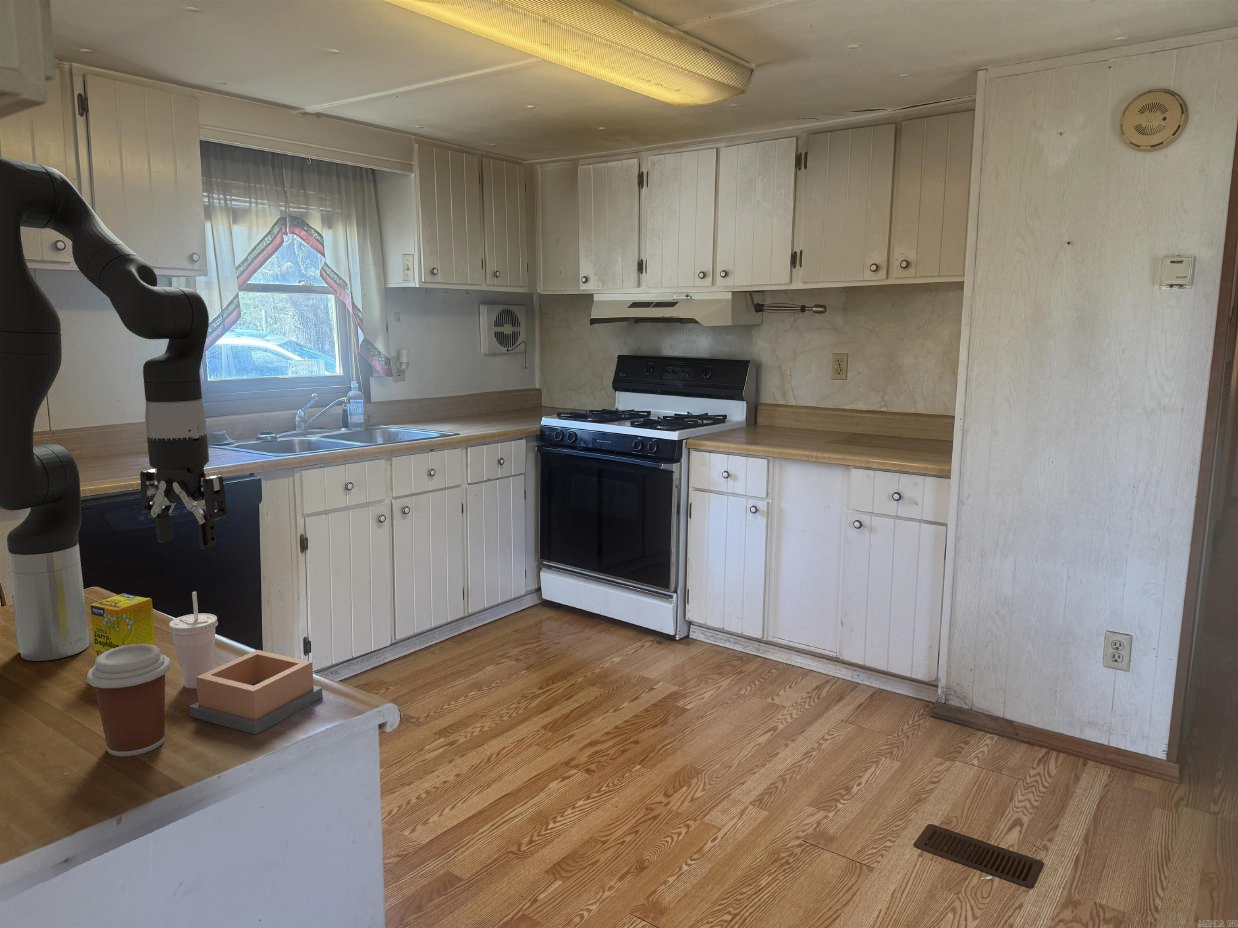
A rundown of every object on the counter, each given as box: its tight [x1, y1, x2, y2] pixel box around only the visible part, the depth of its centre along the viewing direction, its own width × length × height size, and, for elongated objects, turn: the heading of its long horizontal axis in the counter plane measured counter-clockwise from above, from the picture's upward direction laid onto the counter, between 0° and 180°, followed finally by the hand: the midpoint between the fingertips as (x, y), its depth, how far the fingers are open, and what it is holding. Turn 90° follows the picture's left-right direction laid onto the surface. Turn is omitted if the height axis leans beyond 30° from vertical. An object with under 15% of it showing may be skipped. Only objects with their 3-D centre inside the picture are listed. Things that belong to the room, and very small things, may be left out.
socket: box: [188, 649, 324, 735], centre depth 117 cm, size 12×12×6 cm
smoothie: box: [168, 591, 219, 689], centre depth 124 cm, size 6×6×14 cm
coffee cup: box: [86, 644, 171, 757], centre depth 107 cm, size 9×9×12 cm
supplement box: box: [89, 592, 157, 660], centre depth 129 cm, size 6×6×11 cm
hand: (186, 544), depth 122 cm, fingers open, 8 cm apart
